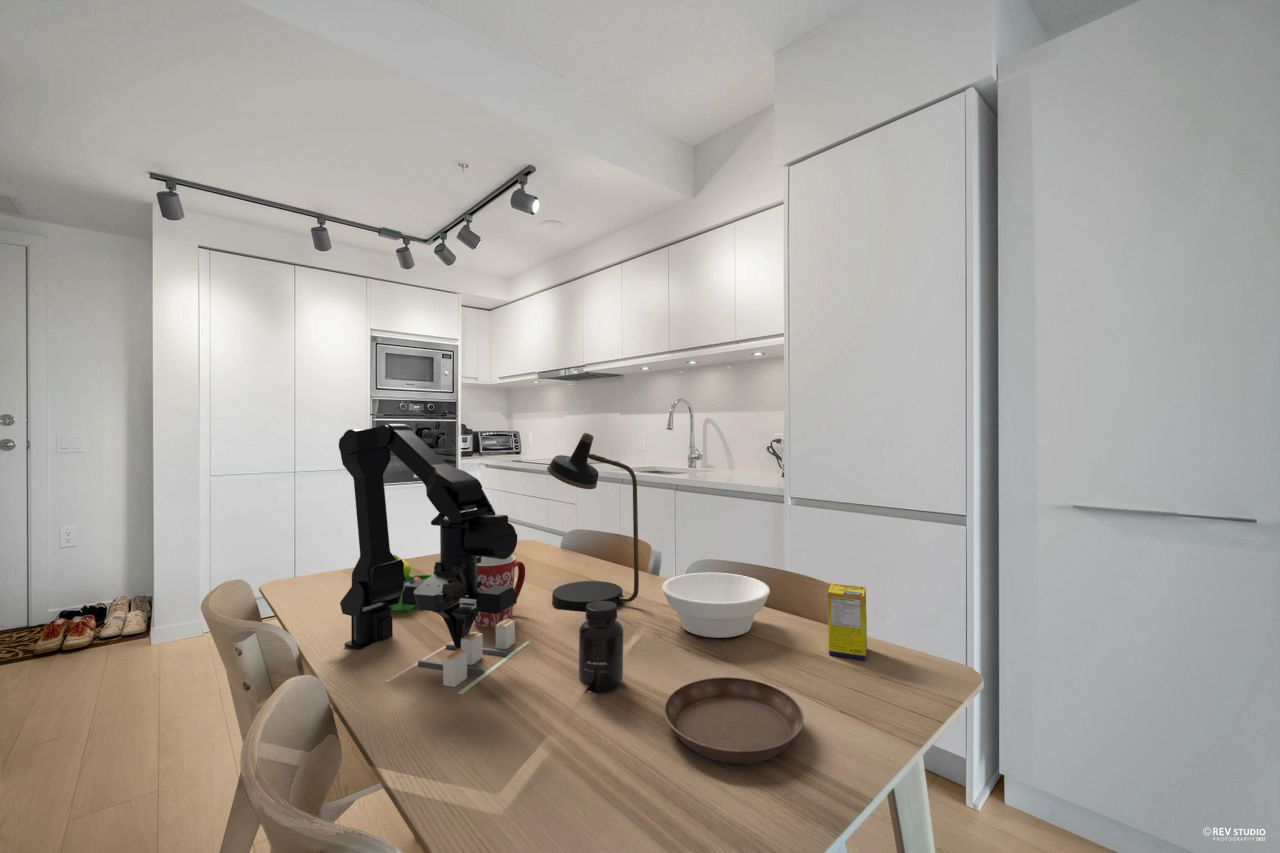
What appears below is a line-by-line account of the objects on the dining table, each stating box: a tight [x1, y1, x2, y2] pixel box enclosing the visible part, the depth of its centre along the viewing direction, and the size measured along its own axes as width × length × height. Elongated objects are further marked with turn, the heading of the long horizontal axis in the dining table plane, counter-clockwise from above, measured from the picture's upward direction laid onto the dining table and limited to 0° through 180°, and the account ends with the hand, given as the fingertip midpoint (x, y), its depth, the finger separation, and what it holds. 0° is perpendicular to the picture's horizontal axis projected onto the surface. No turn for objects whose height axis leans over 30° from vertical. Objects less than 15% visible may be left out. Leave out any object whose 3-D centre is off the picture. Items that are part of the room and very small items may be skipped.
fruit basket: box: [389, 554, 433, 612], centre depth 121 cm, size 11×9×11 cm
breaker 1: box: [442, 649, 468, 688], centre depth 80 cm, size 2×3×4 cm, turn 163°
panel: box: [384, 640, 532, 695], centre depth 88 cm, size 14×22×2 cm, turn 163°
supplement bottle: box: [578, 601, 624, 694], centre depth 82 cm, size 7×7×12 cm
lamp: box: [546, 432, 640, 613], centre depth 121 cm, size 16×22×38 cm
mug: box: [473, 554, 526, 628], centre depth 108 cm, size 13×9×14 cm
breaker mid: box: [461, 631, 484, 666], centre depth 88 cm, size 2×3×4 cm, turn 163°
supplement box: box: [827, 583, 868, 661], centre depth 93 cm, size 6×6×11 cm
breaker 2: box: [495, 618, 516, 651], centre depth 94 cm, size 2×3×4 cm, turn 163°
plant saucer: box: [663, 676, 805, 765], centre depth 69 cm, size 18×18×3 cm
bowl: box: [661, 572, 771, 639], centre depth 105 cm, size 21×21×8 cm
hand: (459, 647), depth 88 cm, fingers closed
